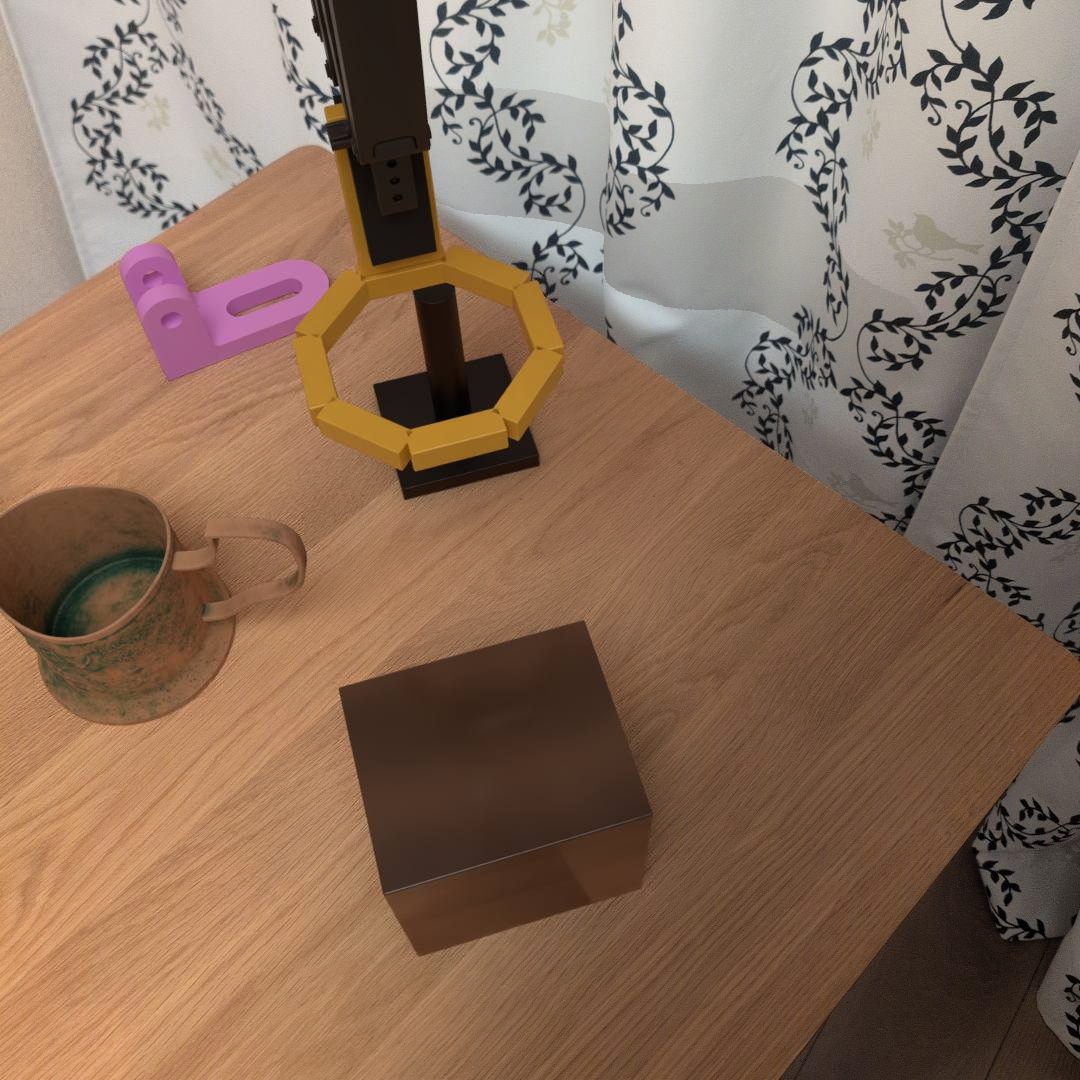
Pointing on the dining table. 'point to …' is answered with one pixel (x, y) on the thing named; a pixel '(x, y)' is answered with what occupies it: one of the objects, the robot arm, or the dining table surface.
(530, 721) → the block
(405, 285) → the ring
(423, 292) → the post
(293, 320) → the bracket
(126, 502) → the mug
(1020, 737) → the dining table surface
